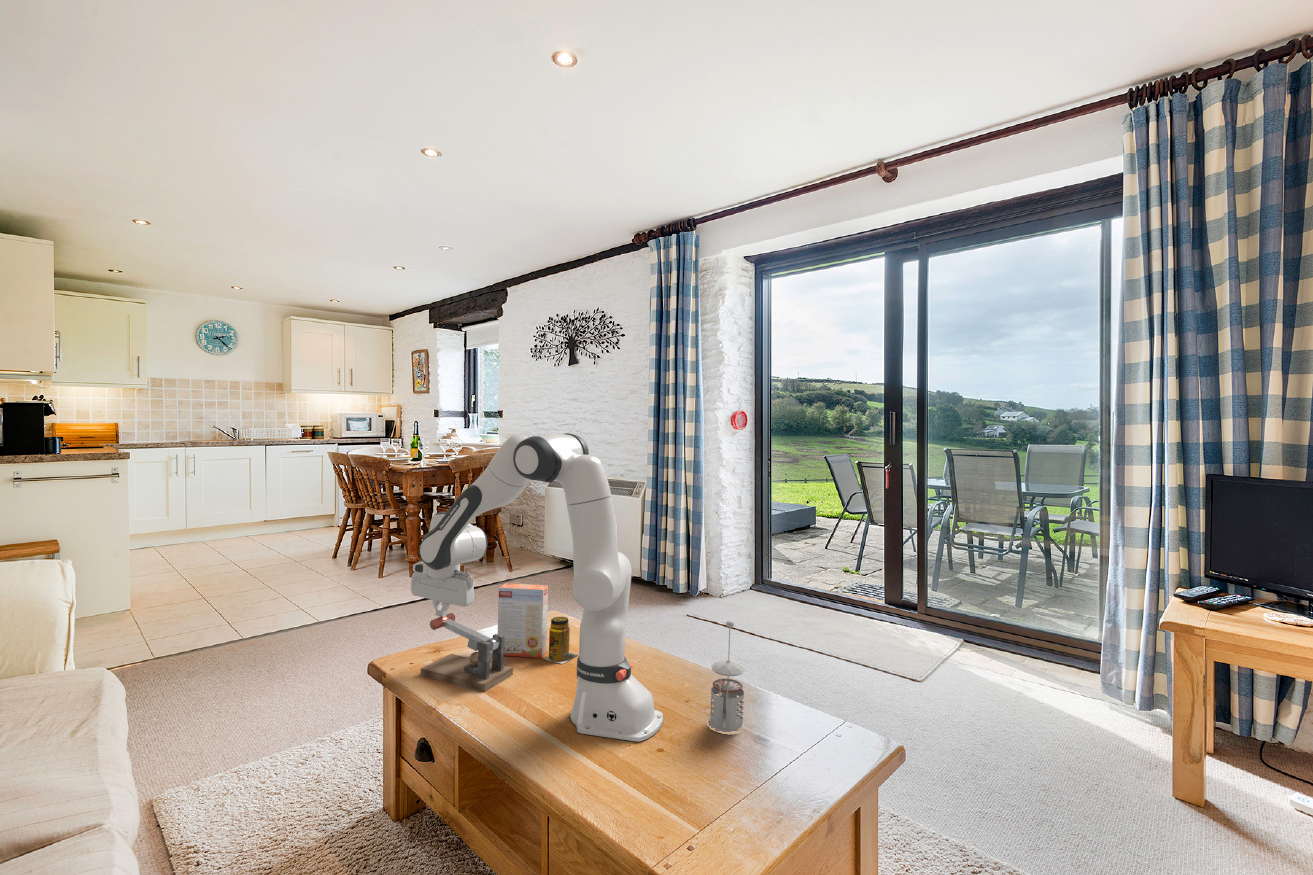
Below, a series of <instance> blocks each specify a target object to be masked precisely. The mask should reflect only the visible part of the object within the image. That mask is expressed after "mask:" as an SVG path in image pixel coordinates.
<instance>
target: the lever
mask: <svg viewBox="0 0 1313 875" xmlns="http://www.w3.org/2000/svg"><path fill="white" fill-rule="evenodd" d="M429 626H430V629H431V630H433V631H436V630H438V629H440V628H444V629H447V630H448V631H450V632H453V633H455V634H457V635H459V636H460V637H463V638H465V639H466V640H467V641H468V642H467V646H466V647H467V648H469V649H471V650H473V651H474V652H478V642H480V641H485V642H489V643H490V652H492V651H493V650H495V649H497V648H498V647H499V646H500V644H501V642H500V639H499V638H498V637H493V636H492V637H491V638H490V637H489V636H486V635H485V634H483V633H480V632H479V631H476V630H474V629H472V628H469V627H468V626H466V625H463V624H461V623H459V622H457V621H456V615H455V614H454V613H453V612H449V613H447V615H446V616H445V617H440V616H438V617H437V618H434V619H431V620H430V621H429Z"/></svg>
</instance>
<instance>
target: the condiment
mask: <svg viewBox="0 0 1313 875" xmlns="http://www.w3.org/2000/svg"><path fill="white" fill-rule="evenodd" d="M569 624H570V623H569V618H568V617H565V616H555V617H552V618H551V619H550V627H549V630H548V631H549V636H548V643H549V644H548V656H546V657H545V658H543V660H544V661H545V660H546V661H547V662H548V661H549V662H551V663H557V664H560V665H563V664H565V663H567V662H569V661H570V660H572V659H573V658H576V657H577V656H579V653H573V652H570V631H571V629H570V627H569Z"/></svg>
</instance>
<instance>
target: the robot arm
mask: <svg viewBox="0 0 1313 875" xmlns="http://www.w3.org/2000/svg"><path fill="white" fill-rule="evenodd" d="M530 480H531V481H538V482H543V483H547V484H548V483H549V484H551V483H553V482H554V481H557V482H558V483H560V485H561V487H562V489H563V492H564V496H565V497H564V499H565V502H566V509H567V514H568V518H569V524H570V529H571V536H572V537H571V538H572V547H573V548H572V559H573V578H574V579H573V585H572V594H573V598H574V599H575V601H576V603H577V604H578V605H579V606H580V607H582V608H583V612H582V618H581V622H580V623H579V646H578V647H579V648H578V650H579V651H578V654H579V655H577V656H578V657H576V658H577V660H576V678H577V682H576V692H575V695H574V696H575V697H574V701H573V706H572V708H571V712H570V720H571V721H572V723H573V724H574V725H575V726H576V731H577V733H579V734H583V735H588V736H589V735H590V736H595V737H596V736H597V737H603V738H604V737H605V738H610V739H611V738H612V739H617V740H626V741H632V742H642V741H645V740H647V739H649V738H651V737H652V736H654V735H655V734H656V733H657V732H658V731H659V730H660V728H661V727H662V726H663V724H662V723H664V714H663V712H662V711H659V710H657V709H655V703H654V698H653V694H652V693H651V692H650V691H649V690H648V689H647V688H646V687H645V686H644V685H643V684H642V683H641V682H640V681H639V680H638V679H637V678H635V676H634V675H633V674H632V669H634V668H633V667H635V665H634V663H635V662H634V661H632V662H631V663H629V662H628V659H627V658H626V655H625V653H626V628H627V618H628V612H629V611H628V610H629V604H630V594H631V583H632V574H633V569H632V564H631V561H630V560H629V558H628V557H627V555H625V554H624V553H623V552H621V551H618V549H619V548H618V522H617V517H616V516H617V515H616V512H615V507H614V502H613V497H612V492H611V488H610V482H609V480H608V477H607V474H606V471H605V468H604V466H603V463H602V462H601V460H600V459H599V458H598V457H596V456H594V455H592V454H590V452H589V446H588V444H587V442H586V441H585V440H584V439H583V438H582V437H581V436H579V435H577V434H573V433H567V432H566V433H545V434H541V435H533V436H527V435H524V434H514V435H511V436H509V437H508V438H507V439H506V440H505V441H504V442H503V444H501V446H500V447H499V448H498V449H497V451H496V452H495V454H494V455H493V456H492V459H490V462H489V463H488V465H487V466H486V467H485V469H484V471H483V472H482V473H481V474H480V475H479V476H478V478H477V479H475V481H474V482H473V483H472V484H470V485H469V486H468V487H467V488H465V489H464V490H463V491H462V493H461V494H460V495H459V496H458V497H457V498H456V500H455V501H454V502H453V503H452V505H451V506H450V508H448V510H447V511H440V512H435V513H434V514H433V515H432V517H431V520H430V524H429V529H428V530H429V531H428V532H427V533H426V534H425V535H424V537H423V538H422V539H421V542H420V544H419V545H420V546H419V550H418V552H419V556H420V559H421V562H417V563H414V564H413V565H412V571H413V572H412V575H411V580H410V591H411V594H412V596H416V597H419V598H423V599H428V600H431V601H432V605H433V607H434V610H435V616H437V617H445V616H446V615H447V614H448V613H447V612H448V609H449V607H450V605H454V606H459V607H463V608H464V607H469V606H471V605H472V604H473V603H474V602H475V588H474V587H475V586H474V577H472V575H471V574H470V573H469V572H467V571H461V564H465V563H471V562H474V561H477V560H480V559H482V558H483V557H484V556H485V554H486V552H487V549H488V538H487V535H486V533H485V531H484V530H483V529H482V528H480V527H479V526H475V525H473V524H472V523H471V521H473V520H474V519H475V518H476V517H478V516H480V515H481V514H483V513H486V512H488V511H491V510H494V509H497V508H500V507H501V508H502V507H503V506H506V505H510V504H511V503H513V502H514V501H515V500H516V499H517V498H518V497H520V495H521V494H522V493H523V491H524V490H525V489H526V487H527V485H528V483H529V482H530Z"/></svg>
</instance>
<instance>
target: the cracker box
mask: <svg viewBox="0 0 1313 875" xmlns="http://www.w3.org/2000/svg"><path fill="white" fill-rule="evenodd" d="M497 601H498V603H497V605H498V606H497V607H498V608H497V634H498V635H503V636H504V657H507V656H508V657H522V658H536V659H537V658H538V659H541V658H542V657H544V655H545V654H546V653H547V651H548V650H547V649H548V648H547V647H548V613H549V612H548V607H549V606H548V605H549V604H548V602H549V585H548V584H547V585H546V584H530V583H529V584H528V583H512V582H511V583H507V582H506V583H503V584H502V585H501V586H499V587H498V600H497ZM542 659H543V658H542Z"/></svg>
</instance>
